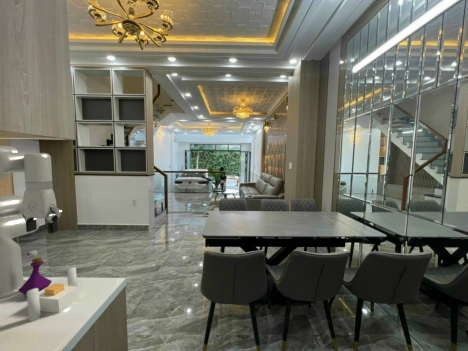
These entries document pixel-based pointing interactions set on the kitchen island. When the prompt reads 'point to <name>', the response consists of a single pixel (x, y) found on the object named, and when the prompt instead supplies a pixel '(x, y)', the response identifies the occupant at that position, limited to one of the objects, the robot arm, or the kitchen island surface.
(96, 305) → the kitchen island surface
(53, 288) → the button
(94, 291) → the kitchen island surface
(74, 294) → the breaker box
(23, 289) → the perfume bottle
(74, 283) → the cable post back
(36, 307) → the post
